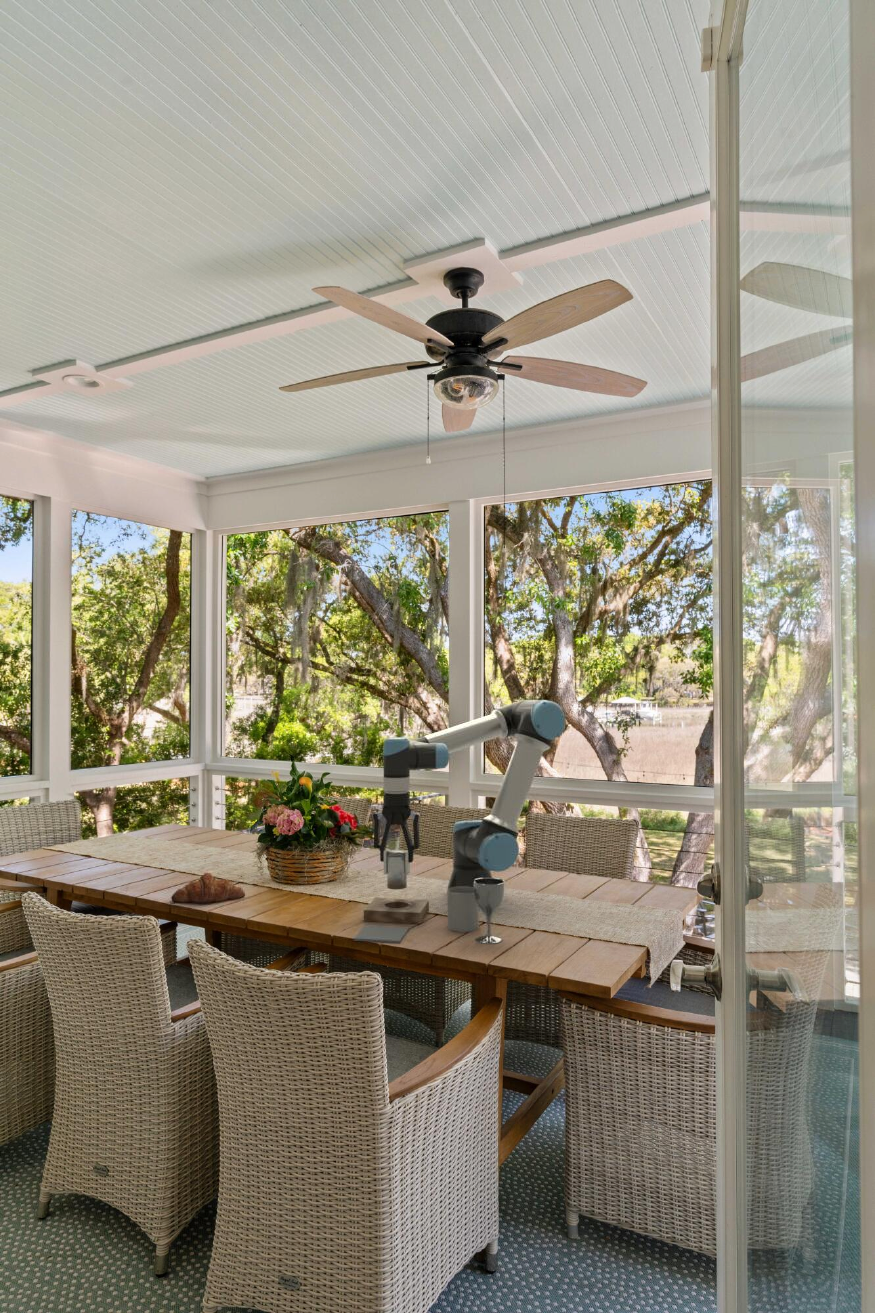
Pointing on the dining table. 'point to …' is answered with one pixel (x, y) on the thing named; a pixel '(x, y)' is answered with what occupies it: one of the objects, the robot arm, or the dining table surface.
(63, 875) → the dining table surface
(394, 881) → the plug
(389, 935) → the mat
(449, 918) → the cup
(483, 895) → the wine glass
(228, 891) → the pastry
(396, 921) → the block
